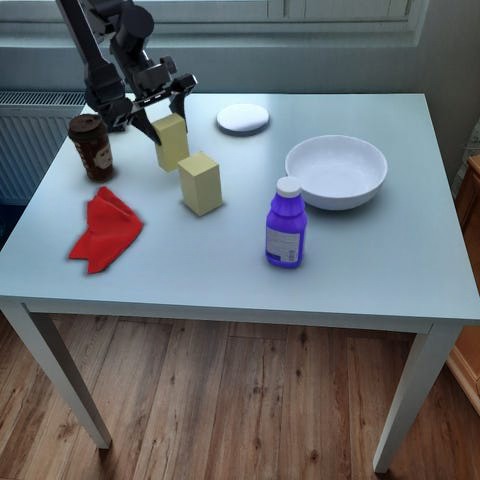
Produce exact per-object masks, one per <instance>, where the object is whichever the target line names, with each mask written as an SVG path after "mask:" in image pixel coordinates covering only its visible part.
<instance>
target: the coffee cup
mask: <svg viewBox="0 0 480 480" xmlns="http://www.w3.org/2000/svg"><path fill="white" fill-rule="evenodd" d="M67 129H68V130H67V137H68V139H69V140H70V141H71V142H72V143H73V145H74V148H75V150H76V151H77V153H78V155H79V158H80V160H81V163H82V165H83V168H84V169H85V172H86V177H87V178H88V179H89V180H90V181H91V182H93V183H104V182H107V181H109V180H111V179H112V178H113V177H114V176H115V174H116V170H115V168H114V164H113V163H114V158H113V153H112V147H111V141H110V137H109V135H108V134H109V133H107V130H108V129H107V125H106V124H105V123H104V122H103V121H102V117H101V116H99V115H98V113H89V112H87V113H81V114H79V115H76V116H74V117H73V118H71V119H70V120H69V123H68V128H67Z"/></svg>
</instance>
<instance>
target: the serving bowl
mask: <svg viewBox="0 0 480 480" xmlns="http://www.w3.org/2000/svg"><path fill="white" fill-rule="evenodd" d="M284 172H285V173H284V174H285V177H295V178H297V179H299V180H300V182H301V198H302V199H303V201H304V203H306V204H308V205H309V206H312V207H314V208H318V209H322V210H327V211H344V210H350V209H354V208H358V207H360V206H362V205H363V204H365V203H367V202H369V201H370V200H372V199H373V198H374V197H375V196H376V195H377V194H378V192H379V191H380V190H381V188H382V187H383V185H384V183H385V181H386V179H387V176H388V173H389V165H388V161H387V159H386V157H385V155H384V154H383V152H381V150H379V148H377V147H376V146H374V145H373V144H371V143H369V142H368V141H365V140H363V139H360V138H357V137H354V136H348V135H340V134H327V135H320V136H314V137H311V138H308V139H305V140H303V141H301V142H299V143H298V144H296V145H295V146H294V147H293V148H292V149H291V150H290V151H289V152H288V153H287V155H286V157H285V161H284Z"/></svg>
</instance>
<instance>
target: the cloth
mask: <svg viewBox="0 0 480 480" xmlns="http://www.w3.org/2000/svg"><path fill="white" fill-rule="evenodd" d="M86 224H87V226H88V227H87V228H86V230H85V231H84V233H83V234H82V235H81V236H80V238H79V239H77V241H76V242H75V244H74V246H73V247H72V248H71V250H70V252H69V254H68V256H67V258H68V259H83V260H87V262H88V264H87V270H86V274H89V275H91V274H96V273H99V272H101V271H102V270H106V269H107V267H108V266H109V265H110V264H111V263H112V262H113V261H114V260H116V259H117V257H118V256H120V255H121V254H122V253H123V252H124V251H125V250H126V249H127V248H128V247H129V246H130V244H131V243H132V242H133V241H134V240H135V239H136V237H137V236H138V235H139V233H140V232H141V231H142V228H143V225H144V222H143V221H141V220H140V218H139V217H138V215H137V214H136V213H135V211H134V210H133V209H132V208H131V207H130V206H128V205H127V204H126V203H125V202H124V201H123V200H122V199H121V198H119V196H116V194H115V193H114V192H113V191H111V190H110V189H109V188H108V187H107V185H103V186H100V187H99V188H98V189H97V193H96V194H94V195H93V198H92V199H91V200H88V201H87V202H86Z"/></svg>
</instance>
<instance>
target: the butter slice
mask: <svg viewBox="0 0 480 480" xmlns="http://www.w3.org/2000/svg"><path fill="white" fill-rule="evenodd" d="M150 123H151V124H152V126H153V128H154V130H155V131H156V133H157V135H158V136H159V139H160V141H161V143H162V145H161V146H158V145H157V144H156V143H155V142H153V143H154V146H155V153H156V158H157V162H158V166H159V167H160V168H161V169H162V170H163V171H164V172H165V173H166V174H170V173H171V172H174V171H176V170H178V165H177V162H179V161H181V160H184V159H186V158H188V157H190V156H191V154H190V147H189V140H188V133H187V132H186V125H185V119H183V118H182V117H181V116H179V115H178V114H177V113H173V114H172V113H171V114H169V115H166V116H164V117H162V118H159V119H157V120H154V121H152V122H150Z"/></svg>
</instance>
